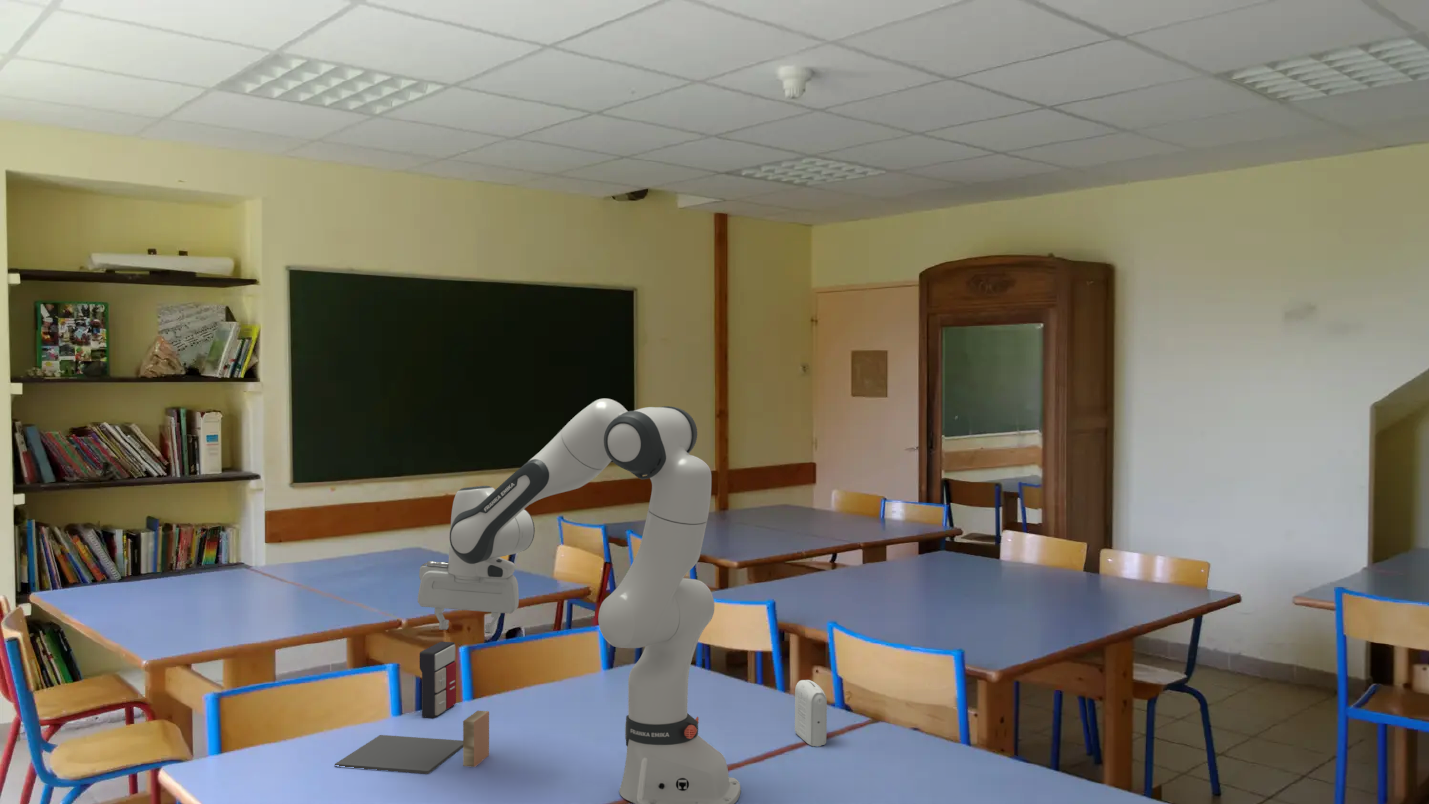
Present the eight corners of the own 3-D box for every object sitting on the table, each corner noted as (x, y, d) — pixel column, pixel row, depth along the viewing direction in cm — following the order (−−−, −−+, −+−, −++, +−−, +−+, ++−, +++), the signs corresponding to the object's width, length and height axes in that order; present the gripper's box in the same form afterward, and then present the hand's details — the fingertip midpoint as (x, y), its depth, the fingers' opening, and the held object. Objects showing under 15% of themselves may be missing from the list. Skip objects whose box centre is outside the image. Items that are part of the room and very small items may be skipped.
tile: (489, 755, 215) (489, 711, 215) (475, 767, 208) (474, 721, 208) (477, 754, 216) (477, 710, 216) (463, 766, 209) (463, 721, 209)
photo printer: (829, 746, 221) (829, 687, 221) (810, 748, 220) (810, 689, 220) (810, 730, 231) (810, 674, 231) (792, 732, 230) (792, 676, 229)
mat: (467, 743, 222) (467, 740, 222) (428, 774, 204) (428, 771, 204) (380, 737, 226) (380, 734, 226) (334, 766, 208) (334, 763, 208)
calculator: (436, 718, 239) (436, 653, 239) (419, 717, 240) (419, 652, 240) (458, 704, 250) (457, 641, 249) (441, 703, 250) (441, 641, 250)
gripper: (415, 563, 211) (411, 631, 212) (516, 570, 211) (511, 638, 211) (424, 557, 218) (421, 623, 218) (522, 564, 217) (518, 630, 218)
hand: (466, 630), depth 215 cm, fingers open, 8 cm apart
